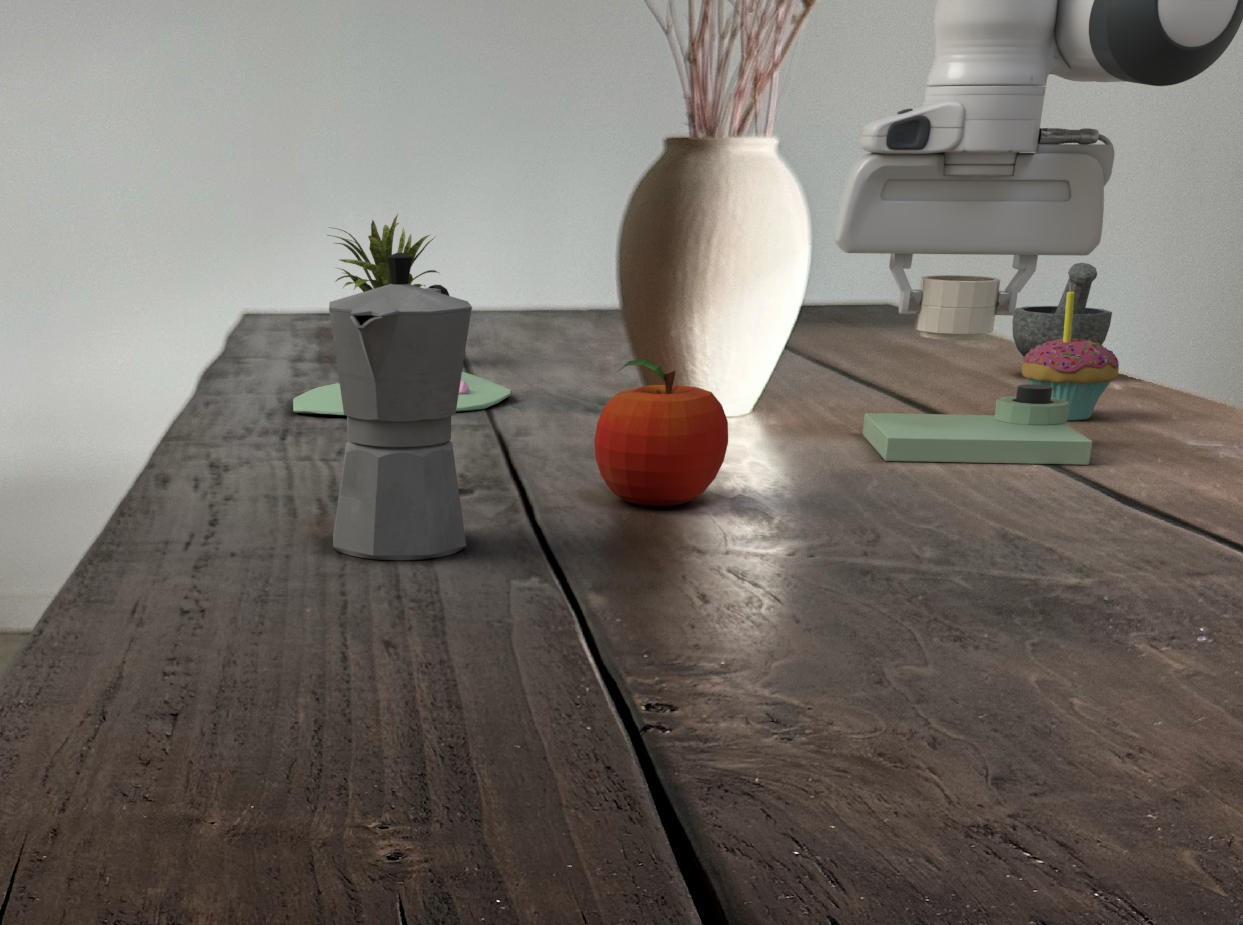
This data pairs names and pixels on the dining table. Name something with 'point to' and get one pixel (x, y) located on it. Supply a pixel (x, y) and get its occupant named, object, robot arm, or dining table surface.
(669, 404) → the fruit
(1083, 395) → the cupcake
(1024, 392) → the button
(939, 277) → the bowl
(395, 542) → the coffeepot
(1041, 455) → the scale
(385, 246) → the house plant
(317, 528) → the dining table surface
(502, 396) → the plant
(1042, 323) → the mortar and pestle
